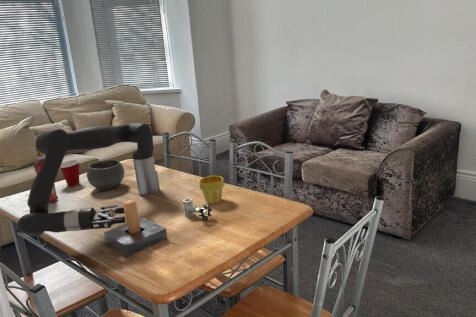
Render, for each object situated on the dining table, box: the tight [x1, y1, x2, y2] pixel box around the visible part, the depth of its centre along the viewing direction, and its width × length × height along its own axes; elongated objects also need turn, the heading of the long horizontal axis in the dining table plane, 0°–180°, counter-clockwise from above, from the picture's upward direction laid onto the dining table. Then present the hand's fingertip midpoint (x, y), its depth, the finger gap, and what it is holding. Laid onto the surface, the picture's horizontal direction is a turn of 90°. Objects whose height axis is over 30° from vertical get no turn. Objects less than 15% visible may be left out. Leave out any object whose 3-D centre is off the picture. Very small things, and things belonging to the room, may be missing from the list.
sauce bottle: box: [33, 143, 59, 204], centre depth 194 cm, size 7×7×28 cm
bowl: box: [86, 159, 125, 191], centre depth 208 cm, size 18×18×13 cm
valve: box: [182, 198, 213, 221], centre depth 165 cm, size 7×7×12 cm
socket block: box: [103, 216, 168, 257], centre depth 151 cm, size 16×16×4 cm
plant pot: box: [198, 175, 225, 205], centre depth 180 cm, size 10×10×10 cm
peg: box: [122, 199, 141, 236], centre depth 149 cm, size 4×4×15 cm
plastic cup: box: [59, 159, 80, 187], centre depth 217 cm, size 11×11×12 cm
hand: (127, 214), depth 148 cm, fingers open, 8 cm apart
